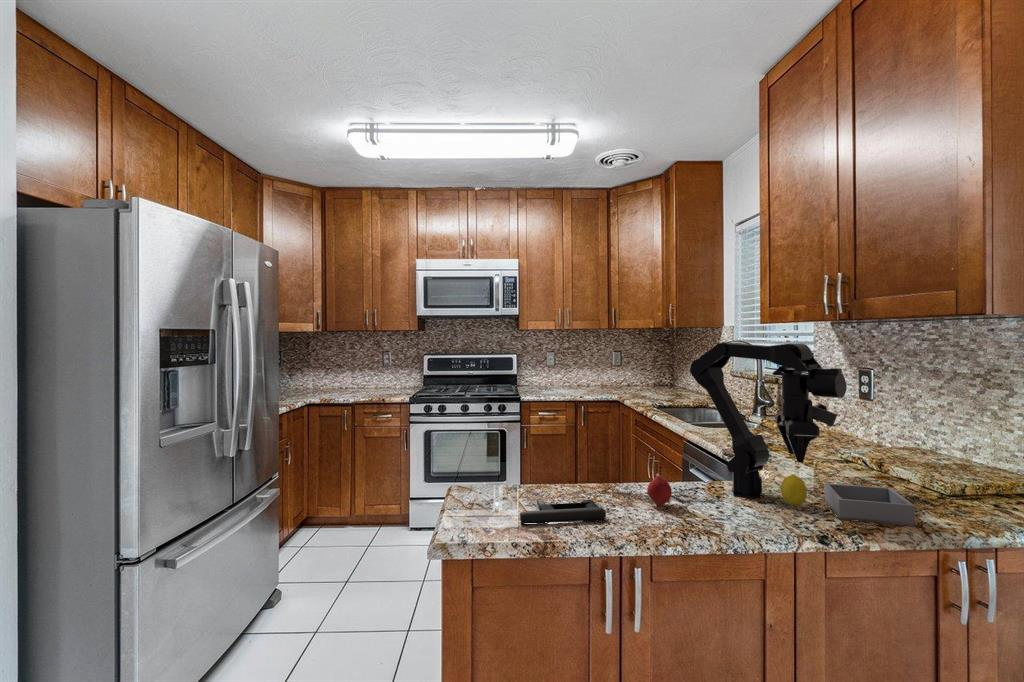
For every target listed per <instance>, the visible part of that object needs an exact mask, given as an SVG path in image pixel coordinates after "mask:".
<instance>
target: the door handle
mask: <svg viewBox="0 0 1024 682" xmlns="http://www.w3.org/2000/svg"><path fill="white" fill-rule="evenodd" d="M536 505H537V507H538V510H537V509H536V510H525V511H522V512H521V511H520V512H519V519H520V521H521V522H520V524H521V523H545V522H547V523H549V522H582V521H587V522H597V521H596V520H602V521H603V520H605V518H607V517H606V515H607V513H606V510H605V509H604V508H603V507H601V506H599V505H598V504H597V503H595V501H594V500H592V499H583V500H582V501H580V502H569V503H568V502H566V503H565V502H564V503H546V501H545V500H544V498H538V499H537V498H536Z"/></svg>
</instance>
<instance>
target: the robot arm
mask: <svg viewBox="0 0 1024 682" xmlns="http://www.w3.org/2000/svg"><path fill="white" fill-rule="evenodd" d="M731 358H739V359H740V358H742V359H751V360H762V361H767V362H769V363H772V364H774V365H775V364H776V365H778V366H779V367H778V368H776V370H774V371H773V372H772V375H773V376H781V397H779V399H780V400H779V401H780V402H781V411H778V412H777V413H775V415H774V422H775V424H776V427H777V430H778V432H779V433H780V435H781V438H782V441H783V442H784V444H785V447H786V449H787V452H788V453H789V454H790V455H794V457H795V460H796V461H797V463H799V464H802V463H804V461H805V457H806V453H807V450H808V447H809V444H810V442H811V441H813V440H815V439H817V438H818V436H820V435H821V434H820V426H819V425H817V424H816V423H815V422H814V421H817V422H819V423H822V424H825V425H826V426H829V427H831V428H833V427H834V425H835V423H836V422H835V421H836V419H837V417H838V414H837V413H835V412H832V411H831V410H828V408H827V405H824V404H822V403H817V404H816V405H813V400H811V399H810V398H809V397H810V396H809V394H812V396H814V397H823V398H836V399H843V398H844V397H845V394H846V392H847V389H848V388H847V384H848V383H847V381H846V378H845V375H844V374H843V370H842V368H840V367H839V368H838V367H837V368H836V367H833V368H823V367H822V365H820V364H819V362H818V361H817V360H816V358H815V357H814V356H813V352H812V350H811V348H810V347H809V346H808V345H807V344H806V343H805V344H804V343H782V344H773V345H772V344H771V345H765V344H764V345H763V344H761V345H760V344H749V343H734V342H730V341H721V342H718V343H717V344H715V346H713V347H712V348H711V349H709V350H708V351H706V352H705V353H703V354H702V355H701V356H700V357H698V358H696V359H694V360H693V361H692V362H691V364H690V368H689V373H690V374H691V376H692V377H693V379H694V381H695V382H696V383H697V384H698V385H699V386H701V387H702V388H703V389H704V390H706V392H707V394H708V395H709V397H710V399H711V401H712V403H713V404H714V407H715V408H716V410H717V413H718V414H719V416H720V418H721V419H722V422H723V423H724V425H725V427H726V429H727V431H728V433H729V435H730V437H731V448H732V451H733V454H734V455H733V457H731V459H729V461H727V462H726V467H727V470H728V472H730V473H732V488H731V489H732V495H733V496H735V497H745V498H746V497H747V498H757V499H760V498H761V497H762V494H763V481H762V480H763V479H762V476H761V475H760V472H759V471H762V470H763V469H764V466H765V464H767V463H768V461H769V458H770V457H771V455H770V452H769V449H770V446H768V445H767V443H766V442H765V440H764V436H762V434H760V433H759V434H754V433H753V432H751V431H750V429H749V427H748V425H747V424H746V421H745V420H744V418H743V416H742V414H741V413H740V411H739V409H738V407H737V406H736V404H735V401H734V400H733V398H732V396H731V394H730V393H729V391H728V388H726V386H725V382H724V379H725V377H724V375H725V374H724V372H723V371H724V370H723V368H724V367H726V365H727V364H728V363H729V361H730V360H731Z"/></svg>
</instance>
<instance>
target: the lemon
mask: <svg viewBox="0 0 1024 682" xmlns="http://www.w3.org/2000/svg"><path fill="white" fill-rule="evenodd" d="M780 485H781V486H780V492H781V493H780V494H781V497H782V498H783V500H784V502H786V503H787V504H789V505H790V506H791V507H792V506H793V508H797V507H798V506H801V505H802V504H803V503H804V502H805V501H806V499H807V497H808V496H807V495H808V490H807V486H806V483H805V481H804V480H803V479H802V478H801V477H798V476H797V475H796V474H791V475H788V476H786V477H785V478H784V479H783V480H782V482H781V484H780Z"/></svg>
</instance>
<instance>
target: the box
mask: <svg viewBox="0 0 1024 682" xmlns="http://www.w3.org/2000/svg"><path fill="white" fill-rule="evenodd" d="M823 484H824V485H823V487H824V488H823V489H824V495H823V496H824V502H825V504H828V505H829V506H828V505H827V506H828V507H829V508H830V509H832V510H833V511H832V510H831V511H832V512H833V514H834V515H835V514H836V515H837V516H836V515H835V516H836V517H837V518H838V519H845V520H844V521H850V520H858V521H857V522H861V521H867V522H866V523H871V522H876V523H875V524H882V523H885V524H884V525H893V524H895V525H896V526H904V525H909V526H908V527H916V515H915V513H916V512H915V510H916V509H915V508H916V507H915V505H914V504H913V503H911V501H909V500H908V499H906V498H905V497H904V496H902V495H901V494H900V493H898V492H897V491H896V490H895V489H894V488H892V487H883V486H873V485H872V486H870V485H869V486H868V485H867V486H866V485H858V484H856V485H855V484H844V483H843V484H841V483H829V482H828V483H826V482H824V483H823Z"/></svg>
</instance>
